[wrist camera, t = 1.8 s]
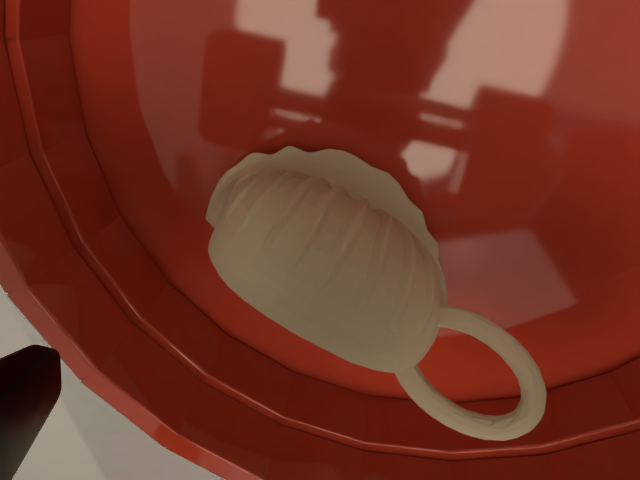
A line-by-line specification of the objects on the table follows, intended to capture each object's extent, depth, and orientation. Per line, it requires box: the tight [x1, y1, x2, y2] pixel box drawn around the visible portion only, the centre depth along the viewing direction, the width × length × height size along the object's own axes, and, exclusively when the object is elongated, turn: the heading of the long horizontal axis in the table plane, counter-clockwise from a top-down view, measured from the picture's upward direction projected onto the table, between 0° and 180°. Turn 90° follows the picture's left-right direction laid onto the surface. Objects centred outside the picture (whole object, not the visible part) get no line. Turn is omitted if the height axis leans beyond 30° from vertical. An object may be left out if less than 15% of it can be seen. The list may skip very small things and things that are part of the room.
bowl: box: [0, 0, 640, 480], centre depth 11 cm, size 21×21×4 cm
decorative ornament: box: [206, 146, 547, 441], centre depth 12 cm, size 4×8×5 cm, turn 58°
